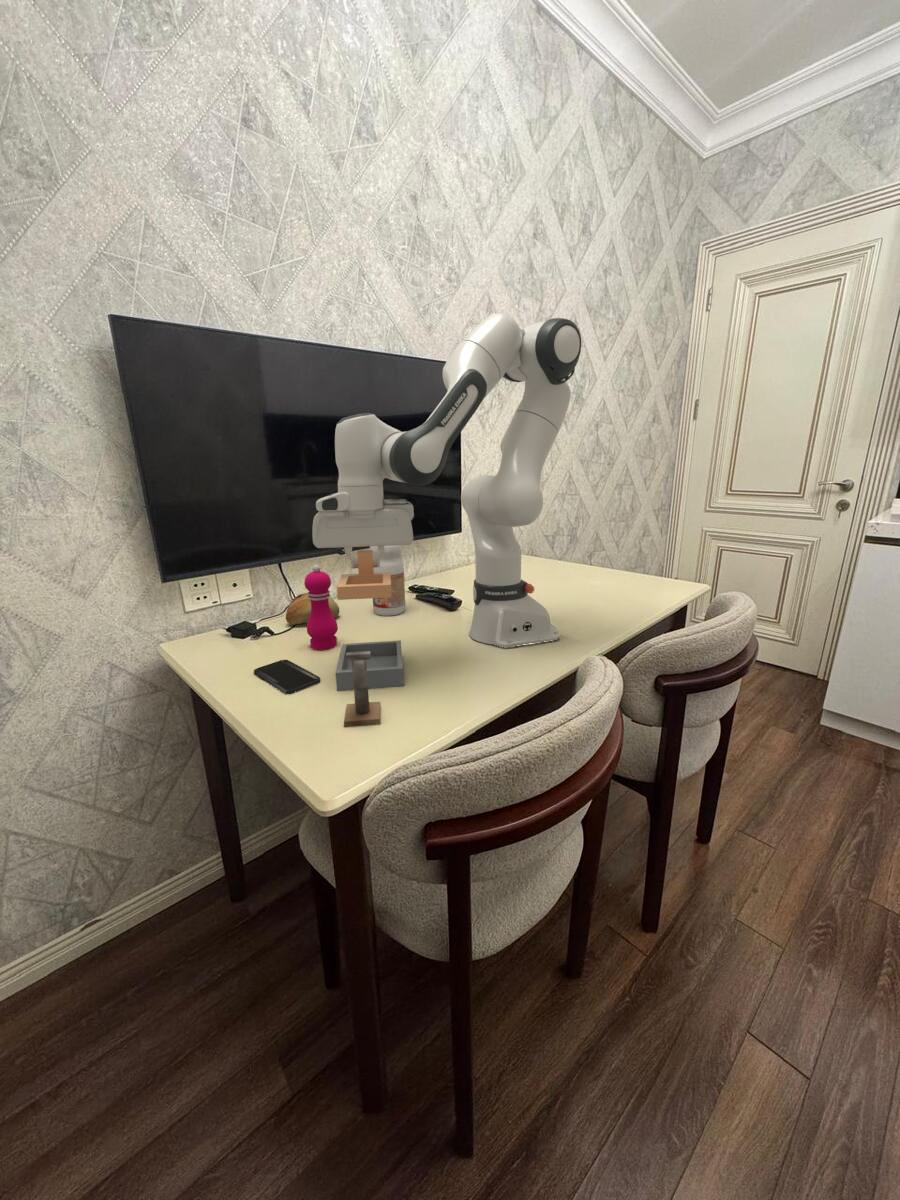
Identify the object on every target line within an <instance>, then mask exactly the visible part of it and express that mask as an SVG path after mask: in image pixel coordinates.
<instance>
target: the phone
mask: <svg viewBox="0 0 900 1200" xmlns="http://www.w3.org/2000/svg"><path fill="white" fill-rule="evenodd" d="M253 674H254V676H256V677H257V678H259V679H261V680H262V681H264V682H265V683H266V684H268V683H269V684H268V685H270V686H271V685H272V687H273V688H275V689H276V688H277V689H276V690H278V691H279V690H280V691H279V692H281V693H282V692H283V693H282V694H283V695H287V694H289V695H293V694H295V692H296V693H298V692H301V691H304V690H305V689H309V688H311V687H314V686H316V685H318V683H319V684H320V683H321V677H320V676H318V675H316V674H314V673H313V672H311V671H309V670H307V669H305V668H303V667H302V666H300V665H298V664H296V663H295V662H292V661H290V660H289V659H280V660H278V661H274V662H271V663H269V664H265V665H263V666H260V667H257V668H255V669H253Z"/></svg>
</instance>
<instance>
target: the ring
mask: <svg viewBox="0 0 900 1200" xmlns="http://www.w3.org/2000/svg"><path fill="white" fill-rule="evenodd" d="M356 555H357V559H358V568H357V571H358V573H348V574H346V573H345V574H341V576H340V578H339V580H338V583H337V585H336V592H337V593H336V594H337V595H336V597H337V601H341V600H342V601H343V600H344V601H345V600H365V599H373V598H390V597H391V576H390V573H374V568H373V551H372V550H370V549H365V550H364V549H362V550H357V552H356Z"/></svg>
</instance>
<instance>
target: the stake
mask: <svg viewBox="0 0 900 1200" xmlns="http://www.w3.org/2000/svg"><path fill="white" fill-rule="evenodd" d="M368 659H371V654H370V651H364V652H348V653H346V661H352V673H353V685H354V690H353V695H354V697H353V698H354V703H346V707H345V713H344V719H343V727H344V728H347V727H358V726H371V725H380V724H381V701H370V699H369V697H370V696H369V695H370V694H369V688H368V681H367V668H366V660H368Z"/></svg>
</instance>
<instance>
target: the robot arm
mask: <svg viewBox="0 0 900 1200" xmlns="http://www.w3.org/2000/svg"><path fill="white" fill-rule="evenodd" d="M581 336H582V335H581V332H580V329H579V327H578V326H577V324H575V322H574V321H572V320H571V319H568V318H563V317H556V318H555V317H554V318H549V319H548V320H544V321H543V320H542V321H538V322H534V323H530V324H528V325H527V326H523V327H522V328H520V326H519V324H518V323H517V321H516V320H515V319H514V318H513V317H512V316H510V315H509V314H506V313H505V312H494V313H491V314H490V315H488V316H486V317H485V318H484V319H483V320H481V322H479V323H477V325H476V326H474V327H473V328H472V329H471V330H470V331H469V332H468V333H467V334H466V335H465V336H464V337H463V338H462V339H461V341H459V343H458V345H457V346H456V347H455V348H454V349H453V351H452V352H451V353H450V355H449V357H448V359H447V360H446V362H445V364H444V366H443V368H442V381H443V384H444V387H445V388H446V394H445V395H444V396H443V398H442V399H441V400H440V402H439V403H438V405H437V406H436V407H435V408H434V410H433V411H432V412H431V414H429V417H427V419H426V421H425V422H423V423H422V424H421V425H419V426H417V427H415V428H412V429H410V430H407V431H401V430H399V429H397V428H395V427H392V426H391V425H388V424H387V423H385V422H383V421H382V420H380V418H378V417H377V416H376V414H374V413H371V412H363V413H358V414H357V413H356V414H352V415H349V416H346V417H342V418H341V419H340V420H339V421H338V422H337V423H336V427H335V433H334V452H335V454H334V455H335V464H336V466H337V469H338V470H337V471H338V479H337V492H336V493H330V494H329V495H326V496H324V497H323V496H322V497H321V498H319V499H317V500H316V502H315V508H316V511H318V512H317V513H315V515H314V517H313V521H312V532H311V533H312V544H313V545H314V547H316V548H317V549H331V548H332V549H333V548H334V549H338V548H344V554H345V555H346V557H347V558H348V559H349V561H350V567H351V569H358V558H355V557H354V556H353V554H352V552H353V548H358V547H370V546H377V548H378V551H380V552H379V554H378V556H377V558H373V568H374V567H380V559H381V557H382V555H383V553H384V546H392V545H402V546H410V545H412V543H413V541H414V532H413V531H414V530H413V526H412V525H413V524H412V521H413V519H414V517H415V512H414V511H415V510H414V509H415V508H414V505H413V503H412V502H410V501H408V500H407V499H404V498H400V499H393V498H391V499H387V498H385V499H384V484H383V481H384V479H388V480H391V481H394V482H395V481H396V482H399V483H405V484H409V485H411V486H416V487H422V486H426V485H430V484H432V483H433V482H434V481H436V480H437V479H438V477H440V475H441V474H442V472H443V470H444V468H445V465H446V461H447V458H448V454H449V452H450V450H451V448H452V446H453V444H454V442H455V441H456V439H457V438H458V437H459V436H460V434H461V432H462V431H463V430H464V428H465V427H466V426H467V424H468V423H469V421H470V420H471V418H472V417H473V415H474V414H475V413H476V412H477V410H478V408H479V407H480V405H481V404H482V402H483V401H484V399H485V398H486V397H487V396H488V395H489V394H490V393H491V392H492V390H493V389H494V388H495V387H496V386H497V385H498V383H499V382H500V381H501V380H502V378H503V379H505V380H507V381H510V382H513V383H522V382H524V391H523V395H522V399H521V401H520V403H519V404H518V406H517V408H516V410H515V412H514V414H513V416H512V418H511V420H510V422H509V425H508V427H507V429H506V431H505V433H504V435H503V437H502V439H501V441H500V445H499V446H500V447H499V448H500V452H501V460H500V466H499V469H498V471H497V473H496V474H495V475H492V474H491V475H487V474H483V475H480V476H477V477H474V478H473V479H470V480H469V481H467V482H466V484H465V485H464V486H463V488H462V490H461V494H460V502H461V505H462V509H464V511H465V513H466V515H467V518H468V522H469V526H470V530H471V534H472V539H473V544H474V552H475V556H474V557H475V579H474V580H473V587H472V590H473V591H472V593H473V595H472V596H473V598H472V599H473V603H474V609H473V616H472V622H471V625H470V628H469V632H468V635H469V637H470V638H471V639H472V640H474V641H477V642H479V643H483V644H487V645H492V644H494V645H493V646H496V645H497V646H496V647H498V646H500V647H499V648H501V647H502V649H508V648H507V647H511V648H514V647H513V646H517V645H523V644H529V643H537V642H544V641H551V640H557V639H560V638H559V636H560V630H559V629H558V628H557V627H556V626H555V625H554V624H553V623H551V618H550V614H549V612H548V609H547V608H546V607H544V606H543V605H542V604H541V603H540V602H539V601H537V600H536V599H534V598H533V597H532V596H530V595H531V594H533V593H534V592H535V589H536V588H535V586H534V585H532V584H531V583H528V582H527V581H525V580H524V579H522V555H523V554H522V548H521V545H520V544H519V542H518V540H517V538H516V536H515V534H514V530H513V528H515V527H523V526H529V525H530V524H532V523H534V522H535V521H536V520H537V519H538V518H539V516H540V514H542V513H541V512H542V510H543V506H544V495H543V493H542V491H541V485H540V484H541V477H542V473H543V469H544V464H545V462H546V460H547V457H548V456H549V453H550V451H551V448H552V447H553V445H554V442H555V440H556V439H557V436H558V434H559V432H560V430H561V427H562V425H563V422H564V420H565V417H566V416H567V411H568V408H569V405H570V401H571V398H572V397H571V396H572V395H571V393H572V392H571V389H570V386H569V384H568V383H567V382H568V381H569V380H570V379H572V376H573V375H574V373H575V371H576V370H575V368H576V366H577V364H578V363H579V362H578V361H579V359H580V356H581V352H582V351H581V350H582V337H581ZM557 641H558V640H557ZM503 647H504V648H503Z"/></svg>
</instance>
